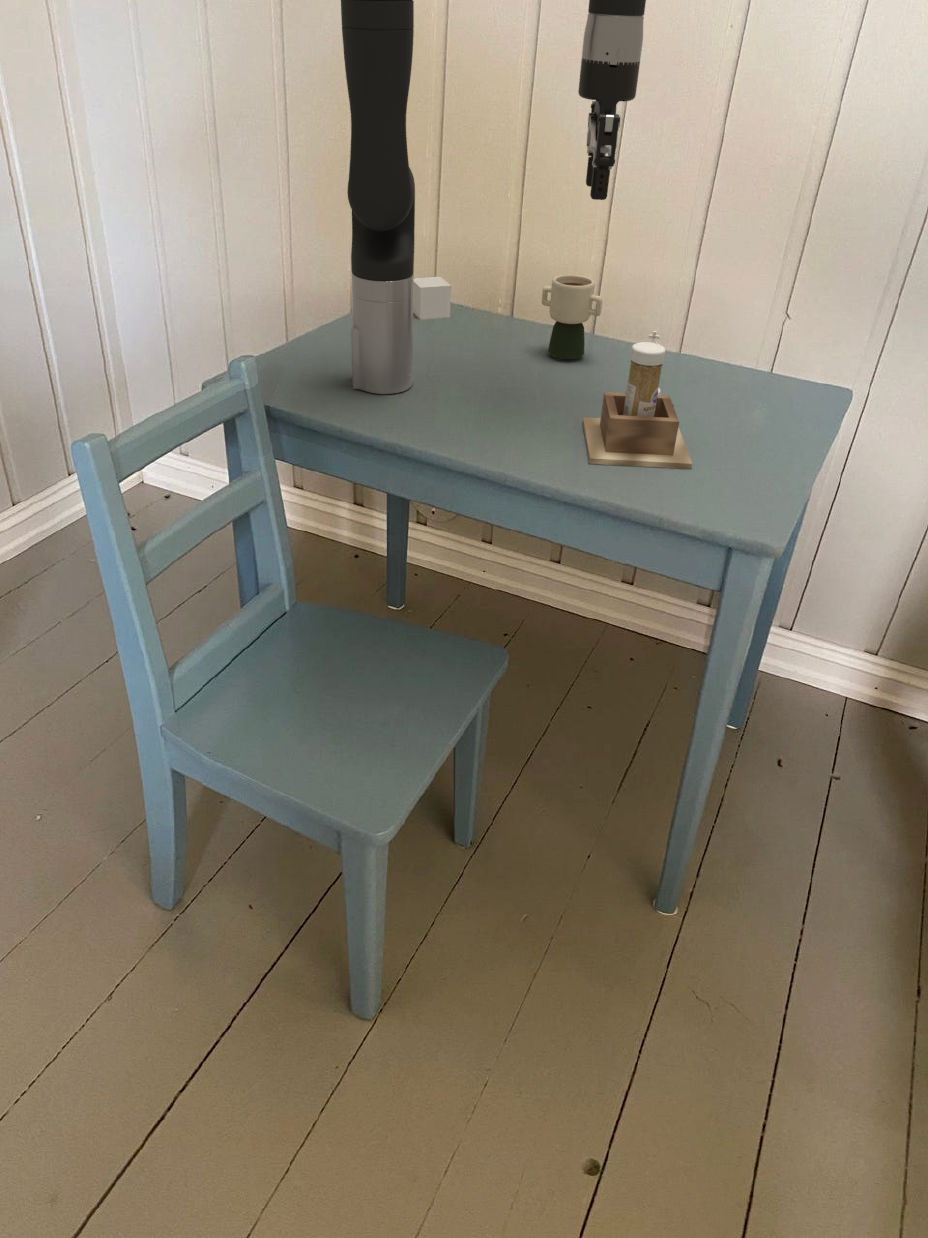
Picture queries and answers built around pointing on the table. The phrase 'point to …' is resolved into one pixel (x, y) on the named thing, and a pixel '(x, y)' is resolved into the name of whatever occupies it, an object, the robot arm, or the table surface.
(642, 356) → the sprinkles bottle
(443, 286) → the white cube
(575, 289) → the character mug
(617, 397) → the socket
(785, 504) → the table surface
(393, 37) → the robot arm
